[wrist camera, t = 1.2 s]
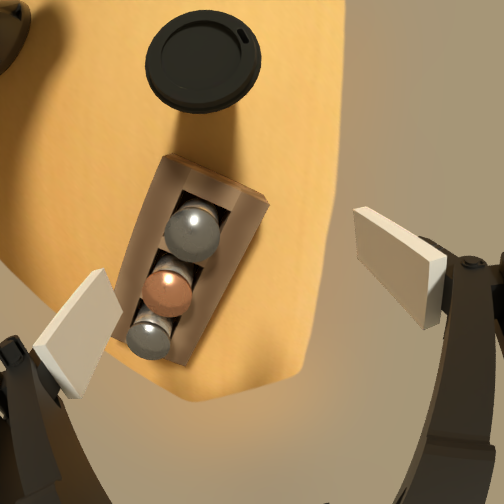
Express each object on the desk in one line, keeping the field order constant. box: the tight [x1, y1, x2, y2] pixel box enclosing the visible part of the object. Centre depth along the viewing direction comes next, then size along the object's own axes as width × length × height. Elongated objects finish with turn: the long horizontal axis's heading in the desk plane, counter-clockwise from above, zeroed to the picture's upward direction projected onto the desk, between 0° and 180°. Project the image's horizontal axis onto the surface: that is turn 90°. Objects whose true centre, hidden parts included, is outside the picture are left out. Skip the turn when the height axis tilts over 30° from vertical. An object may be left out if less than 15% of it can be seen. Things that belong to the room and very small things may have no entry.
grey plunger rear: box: [126, 303, 175, 360], centre depth 37 cm, size 6×6×7 cm
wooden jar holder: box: [110, 153, 270, 366], centre depth 38 cm, size 13×26×6 cm, turn 153°
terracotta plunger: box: [142, 252, 194, 317], centre depth 35 cm, size 6×6×7 cm
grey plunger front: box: [164, 198, 220, 262], centre depth 33 cm, size 6×6×7 cm
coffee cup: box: [145, 10, 261, 114], centre depth 26 cm, size 10×10×15 cm
